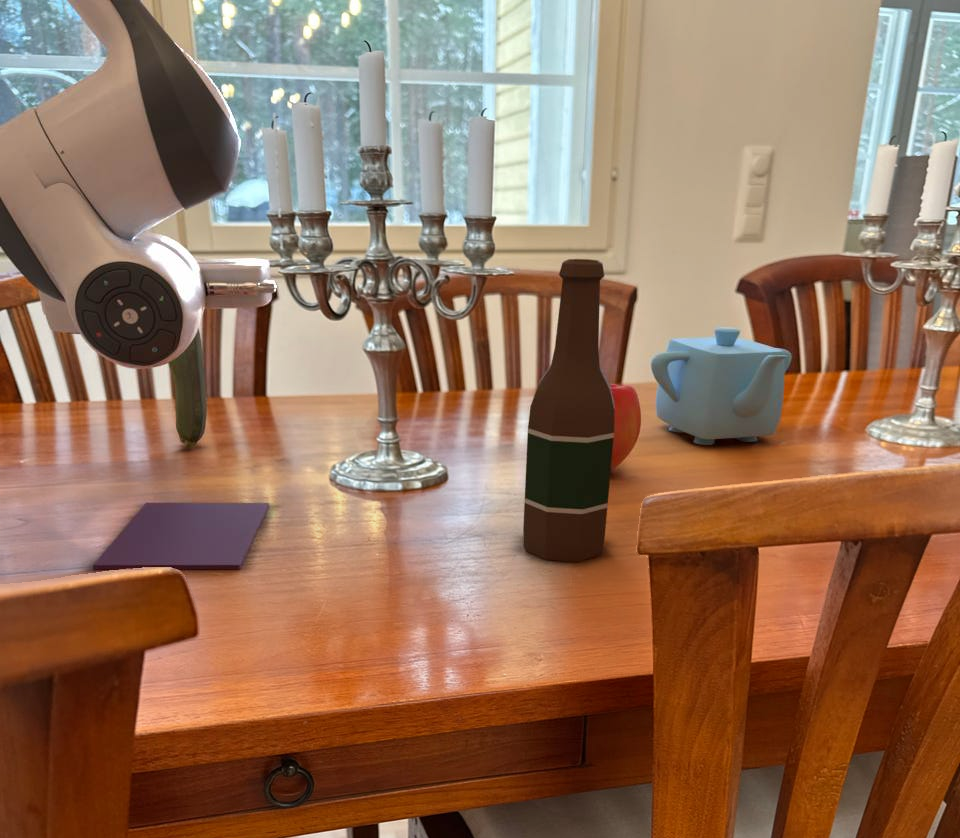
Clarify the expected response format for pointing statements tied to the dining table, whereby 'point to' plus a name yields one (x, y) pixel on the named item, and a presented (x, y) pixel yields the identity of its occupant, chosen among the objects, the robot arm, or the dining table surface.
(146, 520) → the placemat
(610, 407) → the beer bottle
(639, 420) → the apple
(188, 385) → the vegetable
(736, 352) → the teapot
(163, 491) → the dining table surface
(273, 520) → the dining table surface
